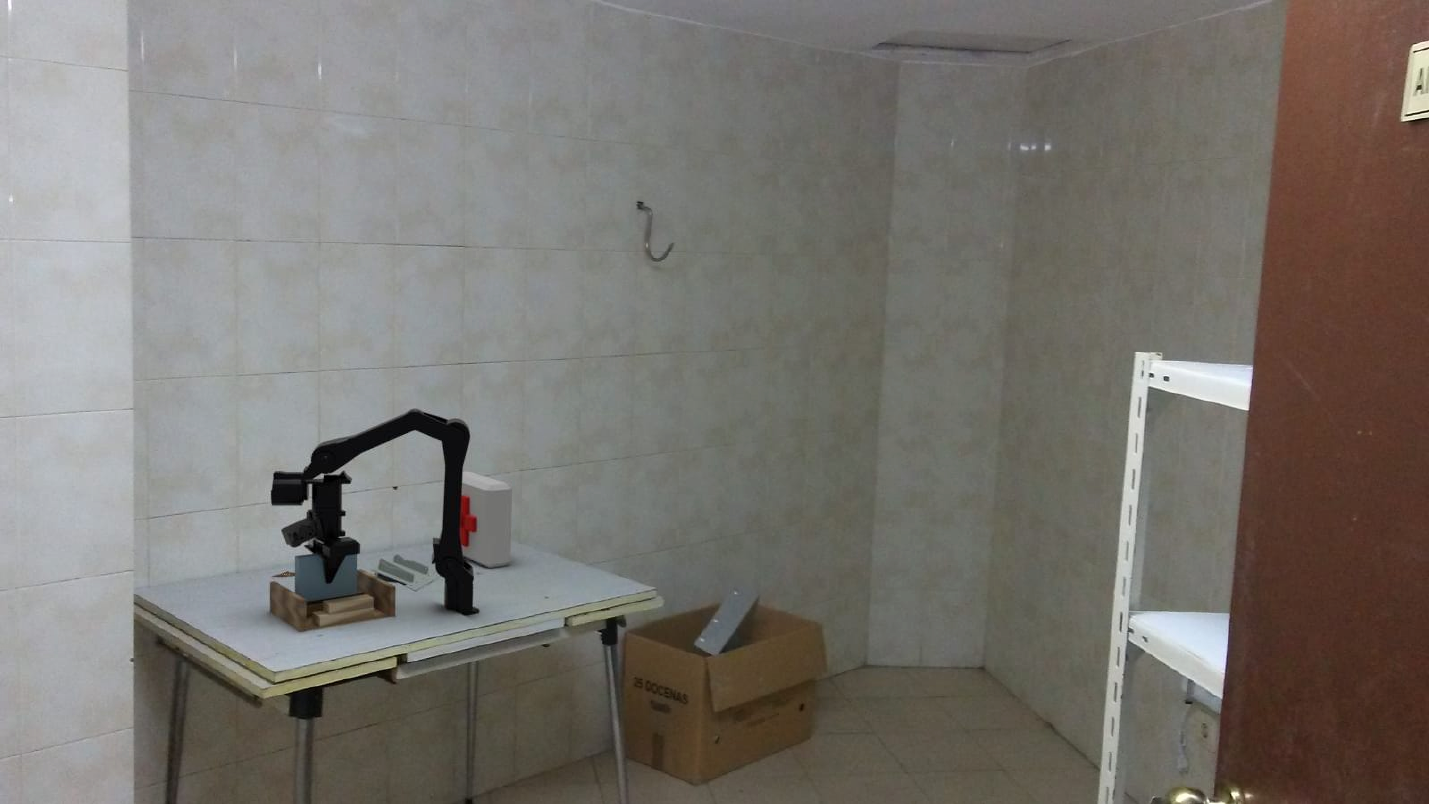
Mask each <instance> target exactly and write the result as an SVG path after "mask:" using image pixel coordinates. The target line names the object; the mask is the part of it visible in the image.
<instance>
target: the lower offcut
mask: <svg viewBox="0 0 1429 804" xmlns="http://www.w3.org/2000/svg"><path fill="white" fill-rule="evenodd" d="M370 618H374V608H369V609H362V610H356V611H350V612H344V613H338V614H332V615H329V614H327V613H325V612H324V611H318V612H313V620H312V622H313V623H314V624H316V625H317V626H319V627H323V626H329V625H335V624H340V623H346V622H352V621H358V620H364V619H370Z"/></svg>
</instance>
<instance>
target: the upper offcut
mask: <svg viewBox="0 0 1429 804" xmlns="http://www.w3.org/2000/svg"><path fill="white" fill-rule="evenodd" d="M369 608H374V598H373V597H371V596H369V595H367V594H366V595H359V596H353V597H346V598H340V599H333V600H327V601H323V611H324V612H325V613H327V614H329V615H332V614H338V613H344V612H350V611H356V610H362V609H369Z"/></svg>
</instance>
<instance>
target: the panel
mask: <svg viewBox="0 0 1429 804" xmlns="http://www.w3.org/2000/svg"><path fill="white" fill-rule="evenodd" d="M357 570H358V554H356V555H348V556H346V557H345V558H344V560H343V562H342V564H341V565H340V567H339V569H338V571H337V573H336V575H335V577H334V579H333V581H332V583H329V584H327V583H326V581H325V575H324V567H323V560H322V558H321V557H320V556H319V555H318V554H317V553H315V554H312V553H309V554H302V555H294V573H295V576H294V593H296V594H297V595H299V596H301V597H302V598H304V599H306V600H307V602H308V601H315V600H321V599H328V598H334V597H341V596H348V595H354V594H357Z"/></svg>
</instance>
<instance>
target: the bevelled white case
mask: <svg viewBox="0 0 1429 804" xmlns="http://www.w3.org/2000/svg"><path fill="white" fill-rule="evenodd" d="M512 497H513V487H511V485H509V484H508V483H507V482H503V481H500V480H497V479H494V478H490V477H487V476H485V475H481V474H478V473H475V472H472V471H463V475H462V496H461V517H460V537H461V544H462V551H463V558H465V557H466V559H467V558H468V559H467V560H470V561H472V560H473V562H474V561H475V563H477V564H480V565H481V566H483V565H484V566H483V567H486V568H488V569H492V568H500V567H506V566H507V565H508V563H509V562H510V561H511V553H512V552H511V551H512V550H511V545H512V543H511V541H512V505H513V502H512V501H513V500H512V499H513V498H512Z"/></svg>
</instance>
